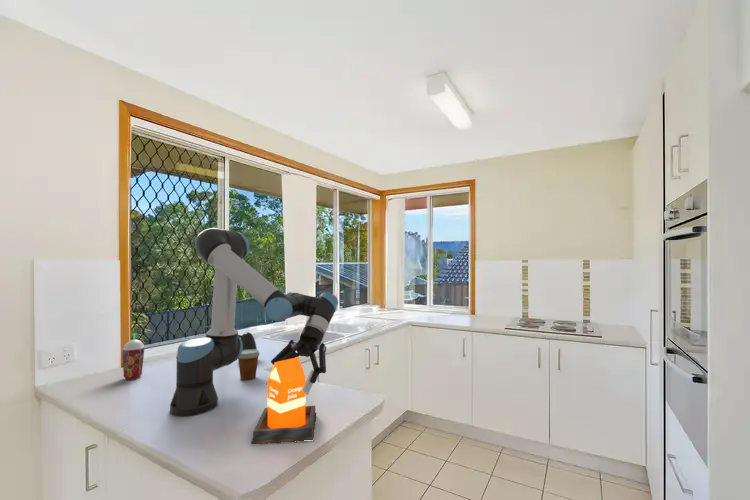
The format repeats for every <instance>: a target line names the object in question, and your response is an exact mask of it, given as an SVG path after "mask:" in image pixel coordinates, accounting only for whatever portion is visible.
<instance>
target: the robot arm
mask: <svg viewBox="0 0 750 500" xmlns="http://www.w3.org/2000/svg"><path fill="white" fill-rule="evenodd" d="M194 246H195V249H196V253H197V254H198V255H199V257H201V259H203V261H204V262H206V263H207V264H208V265H209V266H211V267H214V277H213V278H214V279H213V293H212V308H211V322H210V329H208V330H207V331H206V333H205V334H206V335H205V337H197V338H191V339H188V340H186V341H184V342H182V343H181V344H179V346H178V348H177V353H176V357H175V358H176V387H175V390H174V393H173V396H172V399H171V402H170V405H169V413H170V414H171V415H173V416H177V417H178V416H179V417H186V416H187V417H189V416H194V415H195V416H196V415H201V414H205V413H207V412H210V411H211V410H213V409H214V408H216V407H218V404H219V403H218V402H219V401H218V400H219V397H218V394H217V391H216V388H215V385H214V371H216V370H219V369H221V368H224V367H227V366H230V365H231V364H233V363H234V362H236V361H238V358H239V357H240V355H241V353H242V350H243V344H242V340H240V339H241V338H240V337H239V336H238V335H239V331H238V330H237V329H236V328H235V323H236V306H237V293H238V292H237V290H238V286H239V287H240V288H241V289H243V290H244V291H245V292H246V293H247V294H248V295H250V296H251V297H252V298H253V299H254V300H256V301H257V302H258V303H259V304H260V305H261V306H262V307H264V308H265V312H266V316H267V317H268V319H270V320H272V321H276V322H278V321H286V320H287V319H290V318H295V317H298V316H303V317H308V319H307V321H306V323H305V325H304V328H303V329H302V331H301V333H300V335H299V340H298V341H294V340H293V339H290V340H289V341H288V344H287V345H286V346H285V347H284V348H282V350H280V351H279V352H278V353H277V354H276V355H275V356H274V357H273V358H272V359H271V360H270V363H271V364H272V366H274V363H275V362H278V361H283V360H288V359H292V358H297V357H299V358H300V357H306V358H310V362H311V365H312V369H313V370H312V369H311V370H310V371H309V374H308V376H307V378H306V379H305V385H304V387H303V389H302V390H303V392H304V393H305V395H309V393H310V391H311V389H312V386H313V384H316V381H317V380H318V377H319V376H320V374H325V373H326V372H327V364H326V351H327V348H328V347H327V346H326V345H325V343H324V342H323V340H324V337H325V335H326V332H327V330H328V328H329V325H330V323H331V321H332V319H333V317H334V315H335V313H336V312H337V311H336V310H337V308H338V304H339V299H338V297H337V296H336V295H335V294H333V293H331V292H328V291H326V292H322V293H321V294H320V295H319V296H318V297H317V296H312V295H306V294H303V293H299V292H287V294H285V293H284V292H283V291H281V290H280V289H279V288H277V286H275V285H274V284H273V283H272V282H270V281H269V280H268V279H267V278H266V277H264V275H262V274H261V273H260V272H258V271H257V270H256V269H255V268H253V267H252V266H251V265H250V264H249V263H247V262H246V261H245V260H244V258H246V257H247V255H248V254H249V252H250V243H249V241H248V238H247V237H246V236H245V235H244V234H243V233H241V232H239V231H235V230H229V229H221V228H216V227H210V228H206V229H204V230H202V231H200V233H199V234H198V235H197V237H196V239H195V245H194ZM316 351H317V352H318V360H317V357H316V354H315V353H316ZM318 362H319V364H318ZM265 384H266V386H268V381H267V382H266V383H265Z"/></svg>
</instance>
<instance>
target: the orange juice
mask: <svg viewBox="0 0 750 500" xmlns="http://www.w3.org/2000/svg"><path fill="white" fill-rule="evenodd" d="M272 366H273V367H272V369H271V371H270V373H269V376H268V377H267V382H268V385H267V408H268V427H270V428H271V429H273V428H291V427H300V426H303V425H305V406H307V405H306V398H307V397H306V394H305V393H304V392H303V390H302V389H303V387H304V385H305V383H306V379H307V378H306V375H305V372H304V369H303V365H302V362H301V360H300V356H299V357H295V358H292V359H288V360H283V361H278V362H275V363H274V365H272Z"/></svg>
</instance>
